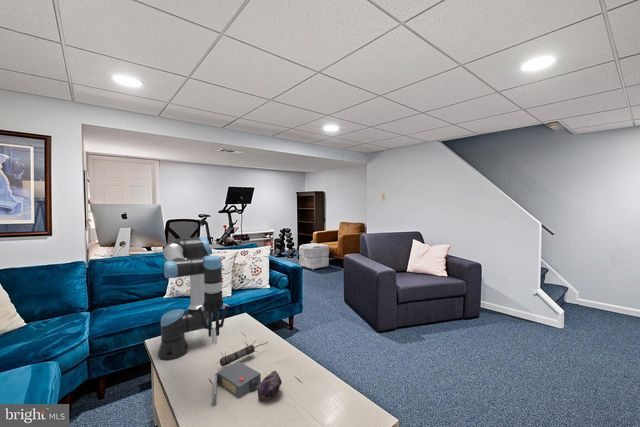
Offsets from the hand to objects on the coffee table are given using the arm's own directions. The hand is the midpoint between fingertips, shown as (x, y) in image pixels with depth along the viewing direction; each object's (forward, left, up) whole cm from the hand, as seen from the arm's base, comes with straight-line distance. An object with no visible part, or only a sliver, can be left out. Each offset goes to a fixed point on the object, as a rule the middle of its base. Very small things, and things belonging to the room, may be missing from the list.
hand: (214, 342), depth 125 cm
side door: (+2, -1, -22) cm, 22 cm away
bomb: (-10, +24, -23) cm, 34 cm away
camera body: (+4, +10, -22) cm, 25 cm away
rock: (+22, +14, -23) cm, 35 cm away
